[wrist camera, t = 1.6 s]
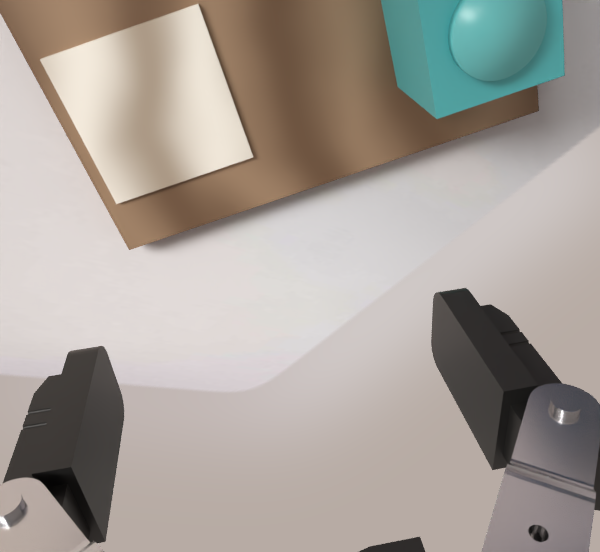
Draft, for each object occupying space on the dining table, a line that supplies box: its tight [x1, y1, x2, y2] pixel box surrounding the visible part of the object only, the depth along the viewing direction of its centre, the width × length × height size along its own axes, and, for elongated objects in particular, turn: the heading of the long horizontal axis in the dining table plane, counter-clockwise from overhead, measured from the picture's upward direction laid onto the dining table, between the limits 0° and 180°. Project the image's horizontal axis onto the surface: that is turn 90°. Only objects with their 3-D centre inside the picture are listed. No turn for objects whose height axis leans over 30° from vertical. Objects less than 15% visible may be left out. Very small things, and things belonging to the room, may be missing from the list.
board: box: [0, 0, 539, 250], centre depth 28 cm, size 25×14×6 cm, turn 107°
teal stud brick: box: [381, 0, 565, 119], centre depth 26 cm, size 6×6×7 cm
